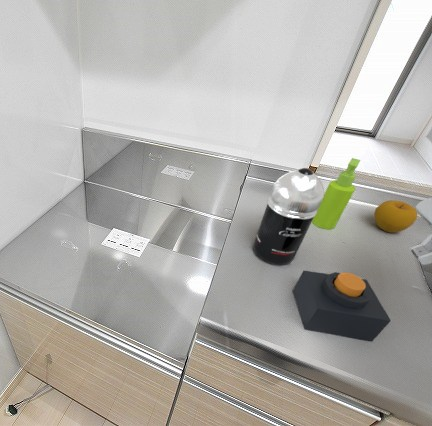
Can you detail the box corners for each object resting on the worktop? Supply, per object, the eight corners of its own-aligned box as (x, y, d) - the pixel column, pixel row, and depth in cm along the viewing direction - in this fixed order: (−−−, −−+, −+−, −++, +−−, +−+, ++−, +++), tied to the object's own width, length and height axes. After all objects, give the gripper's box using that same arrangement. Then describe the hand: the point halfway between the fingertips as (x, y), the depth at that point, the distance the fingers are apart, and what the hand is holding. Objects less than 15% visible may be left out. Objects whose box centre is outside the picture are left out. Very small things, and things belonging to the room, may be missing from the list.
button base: (351, 300, 65) (371, 272, 60) (372, 342, 57) (397, 314, 52) (292, 291, 67) (306, 263, 62) (304, 329, 60) (322, 301, 54)
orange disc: (355, 281, 59) (359, 274, 57) (364, 299, 55) (370, 291, 54) (330, 277, 59) (334, 270, 58) (338, 294, 56) (343, 287, 55)
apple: (362, 227, 85) (377, 202, 80) (373, 216, 90) (388, 192, 84) (398, 242, 80) (417, 216, 75) (408, 230, 84) (427, 205, 79)
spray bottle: (247, 239, 82) (274, 157, 68) (286, 242, 81) (322, 159, 66) (256, 265, 74) (289, 179, 59) (300, 269, 73) (344, 182, 58)
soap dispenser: (337, 221, 88) (370, 160, 76) (332, 232, 84) (366, 169, 72) (315, 213, 91) (344, 154, 80) (309, 223, 87) (338, 162, 76)
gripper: (474, 170, 50) (378, 210, 57) (605, 251, 34) (447, 291, 41) (487, 195, 51) (392, 230, 59) (617, 284, 35) (463, 316, 43)
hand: (415, 256), depth 50 cm, fingers closed
